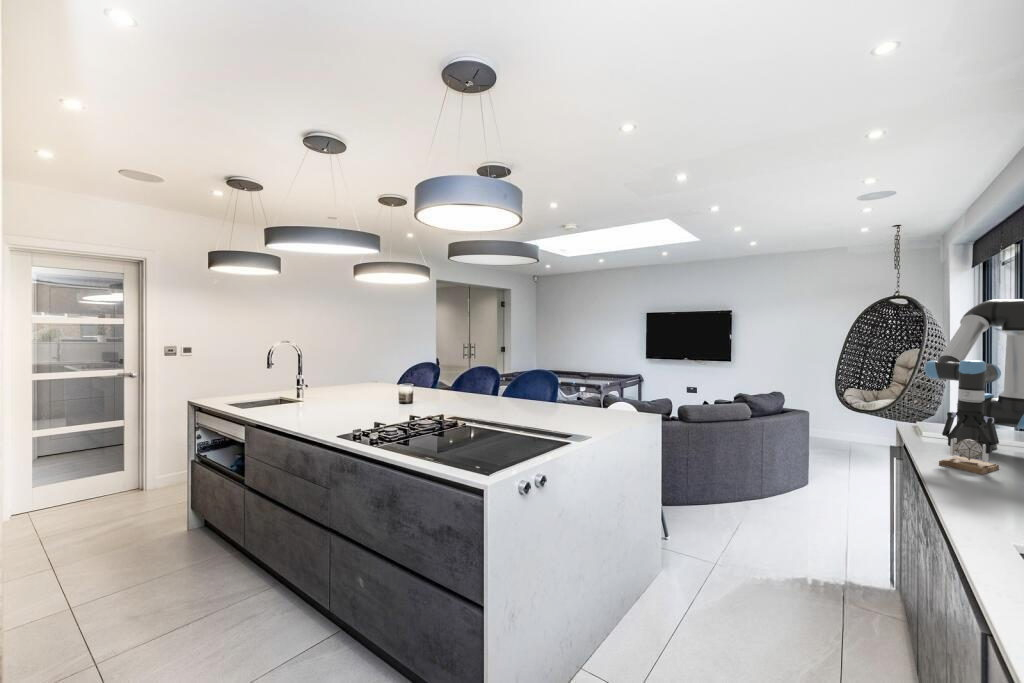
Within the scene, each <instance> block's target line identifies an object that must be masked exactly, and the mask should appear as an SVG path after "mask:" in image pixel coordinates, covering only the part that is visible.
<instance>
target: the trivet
mask: <svg viewBox="0 0 1024 683" xmlns="http://www.w3.org/2000/svg"><path fill="white" fill-rule="evenodd" d="M968 459H969V458H967V457H964V456H961V457H960V455H955V456H952V457H948V458H944V459H941V460H939V461H938V465H939V466H942V465H943V467H947V466H948V468H951V467H952V468H951V469H957V470H960V471H965V472H969V473H973V474H979V475H983V474H988V473H990V472H994V471H997V470H999V468H1000V464H997V463H994V462H989V461H988V462H982V460H979V459H974V458H970V460H968Z"/></svg>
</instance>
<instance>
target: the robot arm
mask: <svg viewBox="0 0 1024 683" xmlns="http://www.w3.org/2000/svg"><path fill="white" fill-rule="evenodd" d="M959 324H960V325H959V327H958V329H957V330H956V332H955V333H954V334H953V336H952V337H951V339H950V340H949V342H948V344H947V345H946V347H945V349H944V350H943V351H942V353H941V354H940V355H939V357H938V358H937V360H935V359H934V360H928V361H927V362H926V363H925V365H924V373H925V375H926V377H928V378H930V379H935V380H943V381H944V380H945V381H955V382H956V381H957V382H958V386H957V387H958V389H957V390H958V391H957V402H956V412H955V411H947V412H946V415H947V416H946V417H947V418H946V421H945V425H944V426H943V427H944V428H943V430H942V433H941V435H942V436H944V437H947V446H948V447H950V452H949V453H950V454H949V455H950V456H952V457H954V456H957V451H954V450H957V444H958V443H959V442H960V441H961V439H962V440H965V439H969V438H968V437H970V439H971V440H974V441H978V440H979V442H978V443H979V444H980V445H981V446H983V448H982V454H981V455H982V456H981V458H982V459H981V461H982V462H989V455H990V454H992V452H993V450H995V449H997V448H998V445H999V444H1000V441H999V437H998V432H997V430H996V426H999V427H1006V428H1007V427H1009V428H1016V429H1019V430H1021V429H1022V430H1024V298H1006V299H998V298H997V299H996V298H995V299H989V300H986V301H985V300H984V301H983V302H981V303H978V304H977V305H975V306H973V307H971V308H970V309H968V311H966V313H965V314H964V315H963V316H962V317H961V319H960V321H959ZM992 327H1001V332H1003V333H1004V334H1005V336H1006V341H1005V345H1006V346H1005V360H1004V377H1003V378H1004V379H1003V391H1002V392H1000V393H998V397H995V395H994V394H993V393H988V392H986V391H985V390H986V384H991V383H993V382H996V381H997V380H999V379H1000V378H1001V375H1002V371H1001V369H1000V367H998V366H997V365H996V364H994V363H987V362H985V361H984V360H981V359H979V360H978V359H966V358H967V357H968V355H969V354H970V351H971V350H972V349H973V347H974V345H975V344H976V343H977V341H978V340H979V337H981V335H982V333H984V332H986V331H987V330H989V328H992ZM955 418H956V424H955V425H954V427H953V424H954V420H955ZM952 427H953V428H952ZM951 429H952V430H951ZM960 438H961V439H960ZM955 443H957V444H955Z"/></svg>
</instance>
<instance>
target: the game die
mask: <svg viewBox="0 0 1024 683" xmlns="http://www.w3.org/2000/svg"><path fill="white" fill-rule="evenodd" d="M968 438H969V439H965V440H962V439H961V438H960V439H961V441H960V442H959V443H958V444H957V443H955V444H957V448H956V450H954V451H956V452H958V453H959V454H960V455H959V456H960V457H966V458H969V459H968V460H970V459H974V458H976V460H979V456H980V455H982V451H983V449H982V448H983V446H981V445H980V444H979V443H978V442H979V440H978V441H974V440H971V439H970V437H968Z"/></svg>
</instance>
